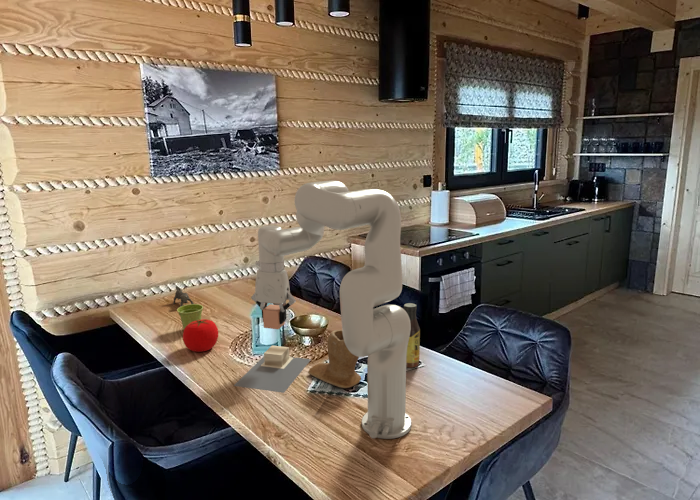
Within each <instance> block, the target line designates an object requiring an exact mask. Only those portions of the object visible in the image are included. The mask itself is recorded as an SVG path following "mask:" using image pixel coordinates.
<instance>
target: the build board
mask: <svg viewBox="0 0 700 500" xmlns="http://www.w3.org/2000/svg"><path fill="white" fill-rule="evenodd" d="M289 357H290V359H289V360H288V361H287V362H286V363H285V364H284V365H283V367H278V366H270V365H265V362H264V356H263V357H261V359H260V360H258V361H257V362H256V363H255V364H254V365H253V366H252V367H251V368H250V369H249V370H248V371H247V372H246V373H245V374H244V375H243V376H242V377H241V378H240V379H239V380H238V381H236V383H235V384H233V387H240V388H246V389H247V388H248V389H252V390H253V389H254V390H261V391H268V392H275V393H282V394H283V393H284V394H285V392H286V391H287V390H288V389H289V388H290V386H291V385H292V383H294V382H295V380H296V379H297V378H298V377H299V376H300V374H301V373H302V372H303V370H304V369H305V368H306V367H307V365H308V364H309V363H310V362H311V360H312V359H311V358H304V357H296V358H294V357H295V356H289Z"/></svg>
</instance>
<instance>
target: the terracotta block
mask: <svg viewBox="0 0 700 500" xmlns="http://www.w3.org/2000/svg"><path fill="white" fill-rule="evenodd" d="M279 312H280V307H279V304H273V303H269V304H267V307H266V308H264V309H263V318H262V322H263V328H264V329H270V330H271V329H272V330H280V328H282V327H283V326H284V325H285V324H286V321H285V322H283V323H282V324H280V320H279Z"/></svg>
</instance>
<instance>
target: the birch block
mask: <svg viewBox="0 0 700 500" xmlns="http://www.w3.org/2000/svg"><path fill="white" fill-rule="evenodd" d="M263 357H264V362H265V365H270V366H278V367H283V365H284V364H285V363H286V362H287V361H288V360H289V359H290V357H291V356H290V347H288V346H279V345H271V346H270V347H269V348H268V349H267V350H266V351H264V353H263Z"/></svg>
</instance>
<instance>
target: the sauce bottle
mask: <svg viewBox="0 0 700 500" xmlns="http://www.w3.org/2000/svg"><path fill="white" fill-rule="evenodd" d="M403 309H404V310H405V311H406V312H407V314H408V316H409V319H410V323H411V330H410V336H409V341H408V346H407V355H406V369H407V368H410V369H412V368H416V367H418V366H419V365H420V347H421V345H420V342H421V339H420V338H421V328H420V325H419V323H418V320H417V309H418V308H417V303H416V304H415V303H411V302H408V303H405V304H404V305H403Z"/></svg>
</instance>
